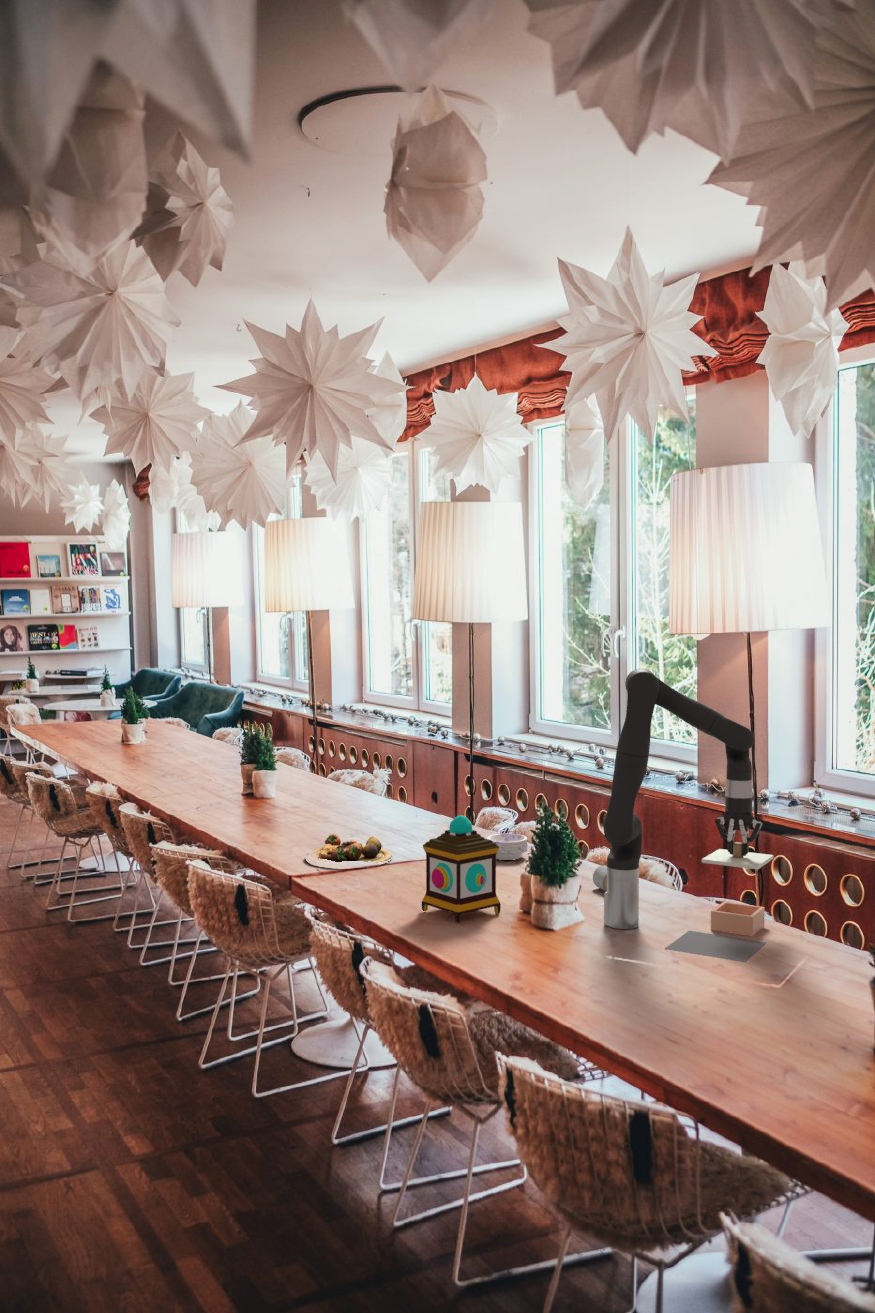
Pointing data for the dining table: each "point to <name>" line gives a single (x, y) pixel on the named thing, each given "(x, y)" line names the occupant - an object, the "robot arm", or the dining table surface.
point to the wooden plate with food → (352, 850)
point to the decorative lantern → (461, 870)
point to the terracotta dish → (737, 918)
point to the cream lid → (738, 858)
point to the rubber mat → (716, 946)
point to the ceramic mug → (600, 877)
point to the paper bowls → (509, 845)
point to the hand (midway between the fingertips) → (738, 854)
